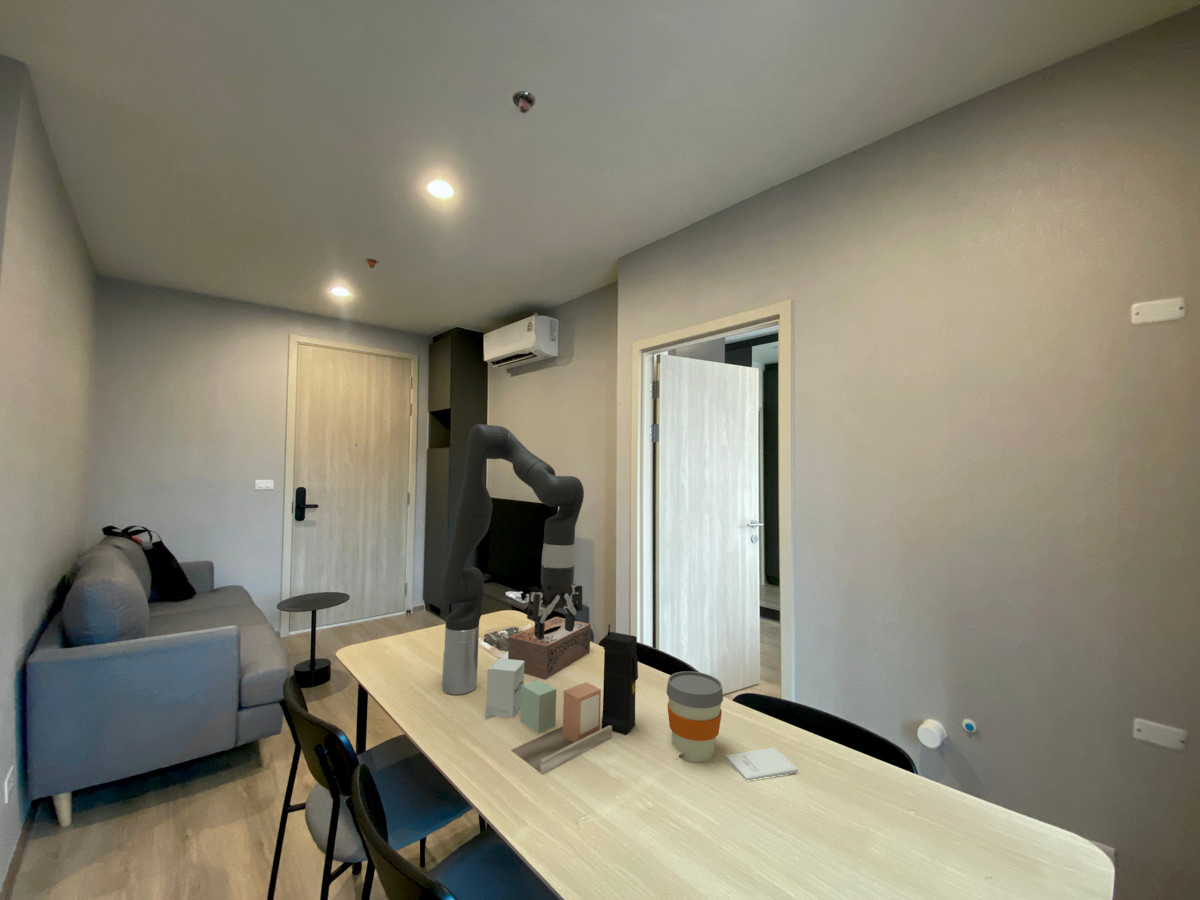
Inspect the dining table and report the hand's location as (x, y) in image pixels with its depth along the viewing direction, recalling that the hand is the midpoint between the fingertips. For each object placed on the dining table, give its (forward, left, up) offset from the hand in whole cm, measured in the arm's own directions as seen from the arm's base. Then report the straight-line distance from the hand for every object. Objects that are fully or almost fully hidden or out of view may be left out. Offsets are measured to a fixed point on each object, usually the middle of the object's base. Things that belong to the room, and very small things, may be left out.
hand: (554, 634), depth 109 cm
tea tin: (-7, +2, -25) cm, 26 cm away
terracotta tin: (+3, +6, -23) cm, 24 cm away
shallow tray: (+3, +1, -25) cm, 25 cm away
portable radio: (+7, +16, -25) cm, 30 cm away
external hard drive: (+36, +29, -25) cm, 52 cm away
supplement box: (-18, 0, -25) cm, 31 cm away
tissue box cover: (-38, +31, -25) cm, 55 cm away
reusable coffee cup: (+23, +23, -25) cm, 41 cm away
